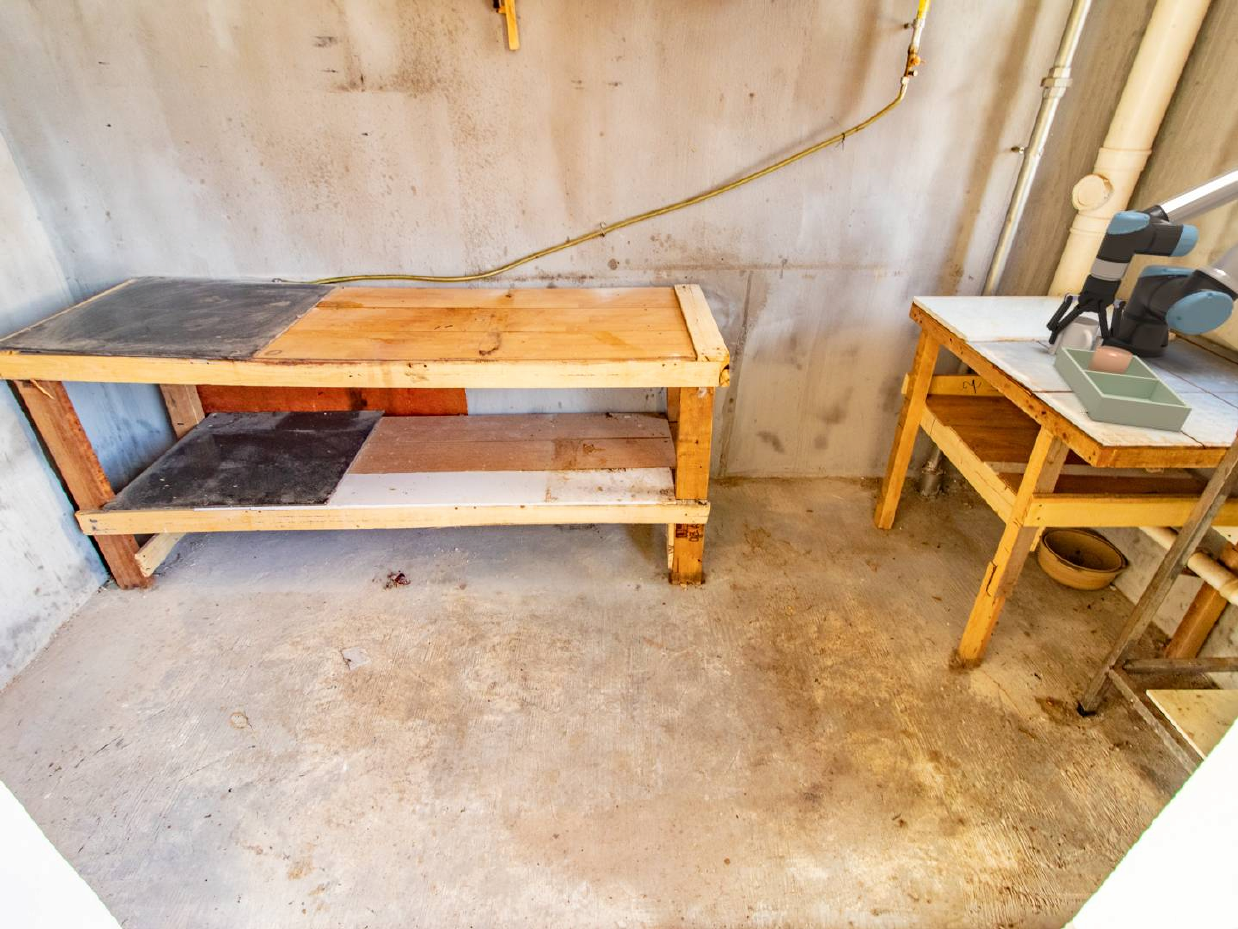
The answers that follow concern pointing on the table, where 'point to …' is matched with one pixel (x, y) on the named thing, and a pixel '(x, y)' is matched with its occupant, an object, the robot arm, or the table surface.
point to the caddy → (1122, 393)
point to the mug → (1078, 334)
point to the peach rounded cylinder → (1110, 360)
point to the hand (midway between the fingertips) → (1069, 357)
